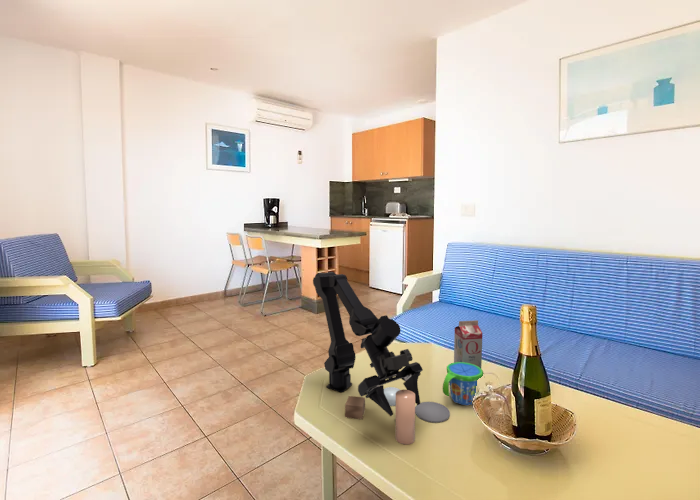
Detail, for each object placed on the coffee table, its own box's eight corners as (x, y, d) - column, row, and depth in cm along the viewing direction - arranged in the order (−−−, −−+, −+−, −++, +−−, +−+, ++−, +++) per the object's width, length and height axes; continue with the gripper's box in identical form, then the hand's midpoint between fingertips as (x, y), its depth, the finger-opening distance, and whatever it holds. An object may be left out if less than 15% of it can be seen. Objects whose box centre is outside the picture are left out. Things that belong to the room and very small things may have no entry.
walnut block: (345, 417, 103) (345, 404, 102) (348, 408, 108) (348, 395, 107) (362, 419, 102) (362, 406, 101) (365, 410, 107) (365, 397, 106)
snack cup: (472, 387, 119) (472, 357, 118) (495, 402, 110) (496, 371, 108) (432, 397, 114) (433, 366, 112) (453, 414, 104) (454, 381, 103)
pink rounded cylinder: (392, 440, 92) (392, 396, 91) (400, 430, 97) (400, 387, 95) (410, 446, 90) (410, 401, 88) (417, 436, 94) (418, 392, 93)
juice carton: (480, 387, 119) (482, 323, 117) (461, 388, 118) (463, 324, 116) (471, 378, 126) (473, 317, 123) (453, 379, 125) (454, 318, 123)
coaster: (409, 415, 103) (409, 414, 103) (422, 400, 112) (422, 398, 112) (443, 426, 98) (443, 424, 98) (454, 409, 106) (454, 407, 106)
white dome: (378, 402, 111) (378, 393, 110) (387, 394, 116) (387, 385, 115) (396, 408, 108) (396, 398, 107) (404, 399, 113) (404, 390, 112)
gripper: (363, 348, 90) (391, 410, 82) (418, 333, 100) (448, 387, 92) (347, 367, 97) (371, 425, 89) (399, 352, 107) (426, 403, 99)
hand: (405, 409), depth 92 cm, fingers open, 9 cm apart
